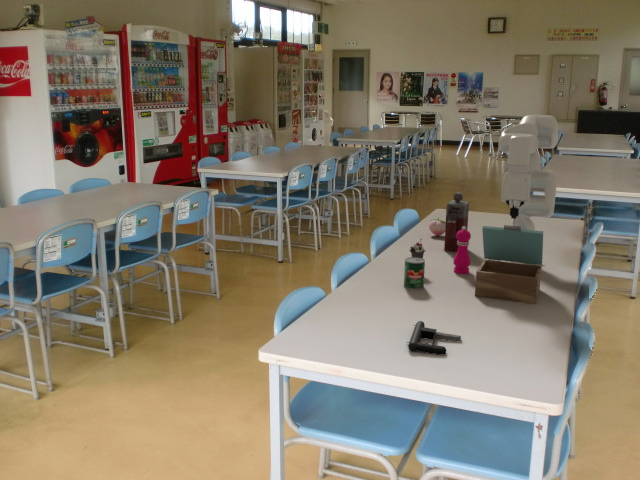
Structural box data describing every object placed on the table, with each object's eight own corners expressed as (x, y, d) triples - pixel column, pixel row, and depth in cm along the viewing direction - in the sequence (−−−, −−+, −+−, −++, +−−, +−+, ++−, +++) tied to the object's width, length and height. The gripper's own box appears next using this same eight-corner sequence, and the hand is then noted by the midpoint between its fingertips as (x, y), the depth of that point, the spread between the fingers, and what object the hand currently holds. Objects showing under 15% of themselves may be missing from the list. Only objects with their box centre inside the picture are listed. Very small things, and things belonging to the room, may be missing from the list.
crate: (482, 282, 260) (484, 259, 258) (539, 289, 252) (541, 265, 249) (474, 296, 244) (476, 271, 242) (535, 304, 236) (537, 278, 233)
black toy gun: (462, 326, 208) (413, 319, 212) (458, 351, 190) (404, 342, 194) (461, 336, 209) (412, 328, 213) (457, 361, 191) (403, 352, 194)
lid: (484, 259, 258) (484, 257, 258) (541, 265, 249) (542, 263, 250) (482, 225, 243) (482, 223, 244) (543, 230, 235) (543, 228, 236)
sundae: (425, 271, 274) (427, 237, 271) (423, 276, 268) (424, 241, 264) (410, 270, 276) (411, 236, 273) (407, 274, 270) (408, 240, 267)
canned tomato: (411, 290, 250) (412, 263, 247) (399, 285, 257) (400, 258, 254) (427, 287, 254) (429, 261, 251) (416, 282, 260) (417, 256, 258)
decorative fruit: (449, 235, 338) (450, 217, 335) (443, 238, 331) (444, 219, 328) (432, 233, 342) (433, 215, 340) (426, 236, 336) (427, 217, 333)
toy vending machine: (442, 252, 305) (445, 194, 298) (448, 246, 315) (451, 190, 308) (461, 254, 302) (465, 195, 295) (466, 248, 312) (469, 191, 305)
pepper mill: (470, 274, 270) (473, 228, 266) (452, 273, 272) (455, 227, 267) (469, 270, 277) (472, 224, 272) (452, 268, 279) (455, 224, 274)
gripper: (495, 169, 236) (492, 218, 241) (538, 171, 231) (533, 221, 235) (498, 167, 243) (495, 214, 247) (539, 169, 237) (535, 218, 242)
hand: (513, 217), depth 241 cm, fingers closed
